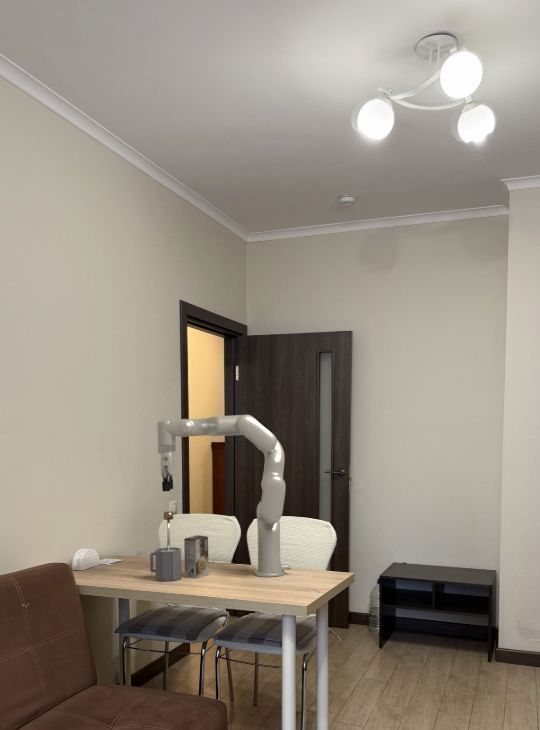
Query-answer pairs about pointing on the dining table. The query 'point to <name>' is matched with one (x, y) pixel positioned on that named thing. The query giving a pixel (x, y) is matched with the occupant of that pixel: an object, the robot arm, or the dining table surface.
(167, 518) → the plunger
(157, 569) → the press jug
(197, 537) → the coffee box
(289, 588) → the dining table surface
